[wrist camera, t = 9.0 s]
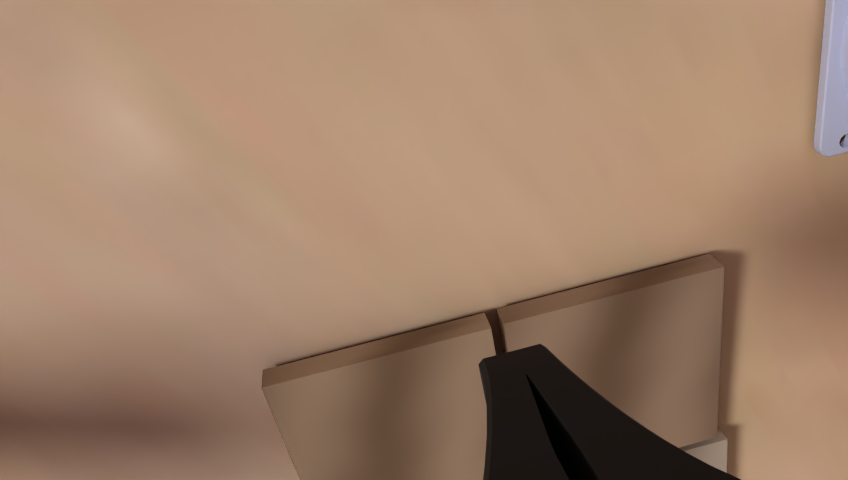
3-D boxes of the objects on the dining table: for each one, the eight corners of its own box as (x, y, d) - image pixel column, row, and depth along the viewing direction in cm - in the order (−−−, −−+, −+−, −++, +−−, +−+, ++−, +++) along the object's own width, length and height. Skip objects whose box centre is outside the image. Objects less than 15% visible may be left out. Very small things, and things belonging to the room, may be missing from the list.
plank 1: (484, 312, 25) (491, 328, 24) (512, 473, 29) (519, 491, 28) (262, 370, 24) (261, 387, 23) (326, 524, 29) (327, 543, 28)
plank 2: (710, 253, 25) (724, 266, 24) (704, 421, 30) (717, 437, 29) (496, 308, 25) (504, 324, 24) (523, 470, 29) (530, 488, 28)
